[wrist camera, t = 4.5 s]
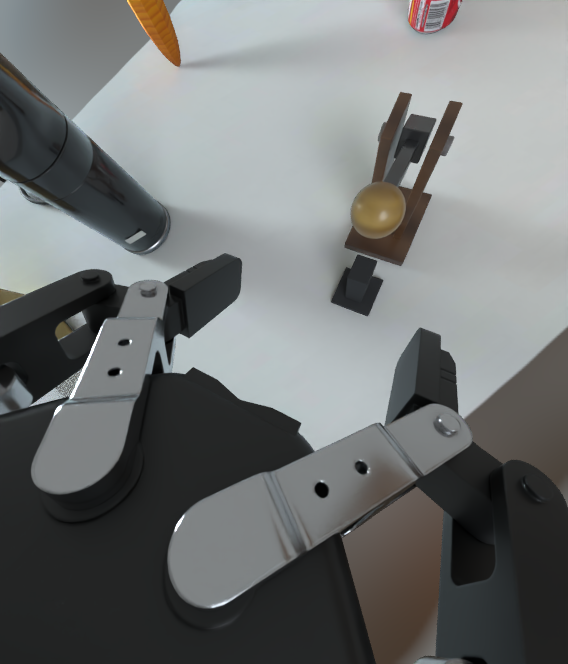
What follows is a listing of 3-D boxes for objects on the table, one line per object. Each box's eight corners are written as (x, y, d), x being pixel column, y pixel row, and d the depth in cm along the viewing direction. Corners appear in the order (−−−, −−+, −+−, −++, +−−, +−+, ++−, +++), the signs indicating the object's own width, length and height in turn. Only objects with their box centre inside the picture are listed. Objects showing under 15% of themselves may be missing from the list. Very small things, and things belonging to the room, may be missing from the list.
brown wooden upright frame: (401, 266, 36) (448, 187, 20) (344, 247, 38) (349, 162, 22) (429, 200, 36) (496, 74, 21) (372, 185, 38) (395, 60, 23)
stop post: (331, 302, 37) (329, 282, 29) (346, 268, 37) (348, 239, 29) (367, 316, 36) (376, 300, 28) (382, 281, 36) (396, 254, 28)
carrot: (165, 60, 49) (93, -70, 35) (189, 49, 49) (126, -88, 34) (168, 82, 48) (96, -43, 34) (193, 71, 48) (130, -61, 33)
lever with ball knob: (387, 255, 19) (407, 210, 16) (339, 240, 20) (348, 194, 17) (429, 157, 25) (449, 111, 22) (391, 149, 26) (405, 103, 23)
